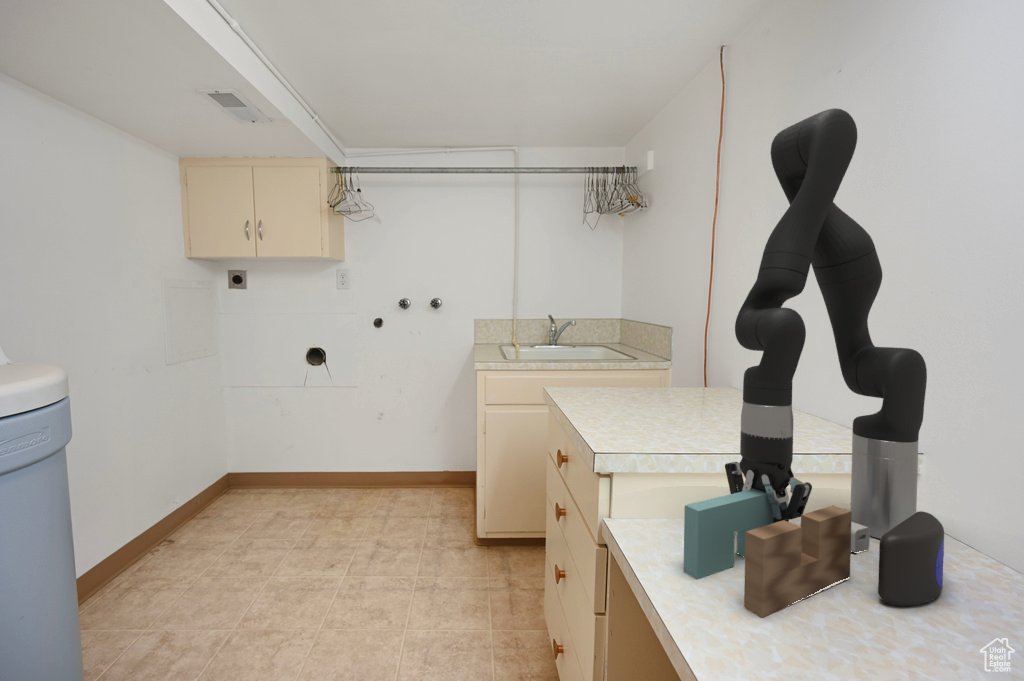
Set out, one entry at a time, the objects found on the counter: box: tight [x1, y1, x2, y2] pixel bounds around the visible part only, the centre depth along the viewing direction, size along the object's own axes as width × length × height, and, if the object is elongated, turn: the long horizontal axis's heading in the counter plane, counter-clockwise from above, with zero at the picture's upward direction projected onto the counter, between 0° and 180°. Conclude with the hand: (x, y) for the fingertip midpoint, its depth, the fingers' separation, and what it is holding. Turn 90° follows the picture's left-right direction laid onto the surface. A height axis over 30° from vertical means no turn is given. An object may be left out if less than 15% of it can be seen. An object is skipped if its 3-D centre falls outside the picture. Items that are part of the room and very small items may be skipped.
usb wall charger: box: [851, 522, 870, 553], centre depth 78 cm, size 4×7×4 cm, turn 24°
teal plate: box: [683, 489, 779, 580], centre depth 72 cm, size 2×20×10 cm, turn 117°
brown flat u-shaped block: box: [743, 505, 852, 619], centre depth 63 cm, size 20×2×10 cm, turn 117°
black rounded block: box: [877, 511, 945, 607], centre depth 64 cm, size 16×5×9 cm, turn 124°
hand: (764, 533), depth 76 cm, fingers open, 4 cm apart
